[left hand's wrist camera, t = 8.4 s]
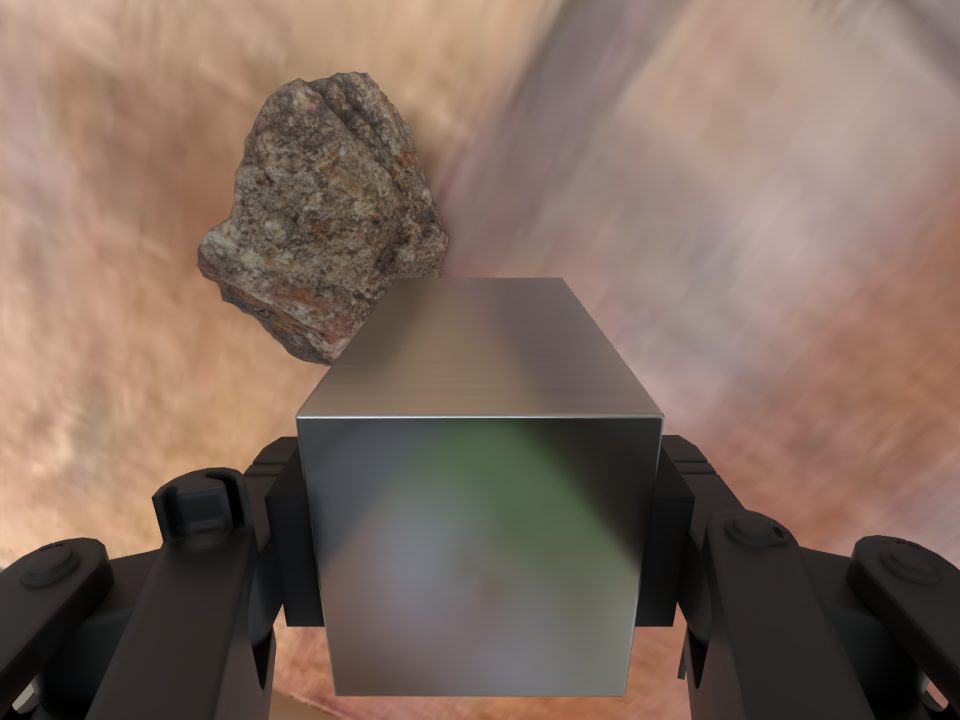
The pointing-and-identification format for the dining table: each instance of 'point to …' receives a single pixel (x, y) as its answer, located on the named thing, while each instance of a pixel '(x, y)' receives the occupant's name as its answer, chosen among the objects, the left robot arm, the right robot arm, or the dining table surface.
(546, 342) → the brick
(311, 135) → the rock
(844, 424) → the dining table surface
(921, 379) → the dining table surface
